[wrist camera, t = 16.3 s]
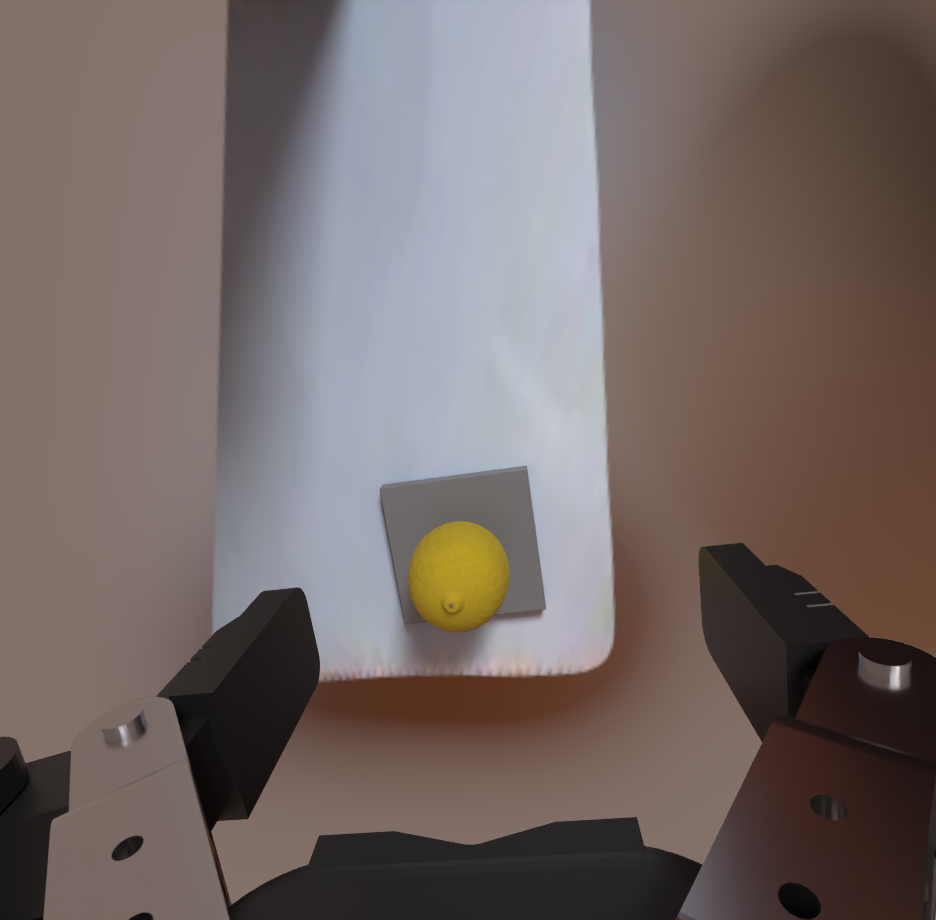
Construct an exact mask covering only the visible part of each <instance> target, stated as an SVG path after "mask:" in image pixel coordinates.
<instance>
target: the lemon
mask: <svg viewBox="0 0 936 920" xmlns="http://www.w3.org/2000/svg"><path fill="white" fill-rule="evenodd" d="M509 581H510V568H509V563H508V559H507V556H506V552H505V550H504V549H503V547H502V545H501V543H500V542H499V540H498V539H497V538H496V537H495V536H494V535H493V534H492V533H491V532H490V531H488V530H487V529H485V528H484V527H482V526H480V525H477V524H474V523H471V522H464V521H456V522H450V523H445V524H443V525H441V526H439V527H436V528H434V529H433V530H432V531H431V532H429V533H428V534H427V535H426V536H424V537H423V539H422V540H421V541H420V543H419V544H418V546H417V547H416V548H415V550H414V553H413V555H412V558H411V561H410V564H409V571H408V586H409V592H410V596H411V599H412V601H413V604H414V606H415V608H416V609H417V611H418V612H419V613H420V615H421V616H422V617H423V618H424V619H425V620H426V621H427V622H429V623H430V624H431V625H433V626H435V627H437V628H439V629H442V630H446V631H451V632H465V631H469V630H472V629H475V628H477V627H479V626H481V625H483V624H484V623H486V622H487V621H488V620H489V619H490V618H491V617H492V616H493V615H494V614H495V613H496V612H497V611H498V609H499V608H500V606H501V604H502V603H503V601H504V599H505V596H506V593H507V590H508V586H509Z"/></svg>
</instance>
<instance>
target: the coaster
mask: <svg viewBox="0 0 936 920" xmlns="http://www.w3.org/2000/svg"><path fill="white" fill-rule="evenodd" d="M380 494H381V499H382V504H383V509H384V515H385V520H386V525H387V531H388V536H389V541H390V546H391V552H392V557H393V562H394V567H395V573H396V578H397V583H398V588H399V594H400V599H401V604H402V609H403V615H404V620H405V624H411V623H420V622H427V621H426V620H425V619H424V618H423V617H422V616H421V615H420V613H419V612H418V611H417V609H416V608H415V606H414V604H413V601H412V599H411V596H410V592H409V586H408V571H409V564H410V561H411V558H412V555H413V553H414V550H415V548H416V547H417V546H418V544H419V543H420V541H421V540H422V539H423V537H424V536H426V535H427V534H428V533H429V532H431V531H432V530H433V529H434V528H436V527H439V526H441V525H443V524H445V523H450V522H456V521H464V522H471V523H474V524H477V525H480V526H482V527H484V528H485V529H487V530H488V531H490V532H491V533H492V534H493V535H494V536H495V537H496V538H497V539H498V540H499V542H500V543H501V545H502V547H503V549H504V550H505V552H506V556H507V559H508V563H509V568H510V581H509V586H508V590H507V593H506V596H505V599H504V601H503V603H502V604H501V606H500V608H499V609H498V611H497V612H496V613H495V614H494V615H496V614H505V613H515V612H524V611H534V610H543V609H546V603H545V596H544V588H543V581H542V574H541V566H540V559H539V552H538V545H537V537H536V530H535V523H534V515H533V508H532V501H531V493H530V486H529V479H528V471H527V466H522V467H515V468H507V469H499V470H492V471H484V472H477V473H469V474H462V475H454V476H446V477H439V478H431V479H424V480H416V481H409V482H401V483H393V484H386V485H383V486H382V487H381V488H380Z"/></svg>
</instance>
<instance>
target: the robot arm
mask: <svg viewBox="0 0 936 920" xmlns="http://www.w3.org/2000/svg"><path fill="white" fill-rule="evenodd" d="M699 576H700V594H701V612H702V626H703V632H704V637H705V641H706V644H707V647H708V650H709V652H710V654H711V656H712V658H713V659H714V661H715V663H716V665H717V666H718V668H719V670H720V672H721V673H722V675H723V677H724V678H725V680H726V682H727V683H728V685H729V687H730V688H731V690H732V692H733V693H734V695H735V697H736V699H737V700H738V702H739V704H740V706H741V707H742V709H743V710H744V712H745V714H746V716H747V717H748V719H749V721H750V722H751V724H752V726H753V728H754V729H755V731H756V733H757V734H758V736H759V738H760V739H761V741H762V744H761V746H760V748H759V750H758V752H757V754H756V756H755V758H754V760H753V762H752V764H751V767H750V769H749V771H748V773H747V775H746V777H745V779H744V781H743V783H742V785H741V787H740V789H739V791H738V793H737V795H736V797H735V799H734V801H733V803H732V805H731V808H730V810H729V812H728V814H727V816H726V818H725V820H724V822H723V824H722V826H721V828H720V830H719V832H718V834H717V836H716V838H715V840H714V842H713V844H712V846H711V849H710V851H709V853H708V855H707V857H706V859H705V861H704V863H703V865H702V864H700V863H698V862H695V861H693V860H690V859H688V858H685V857H683V856H680V855H678V854H674V853H671V852H667V851H664V850H661V849H657V848H652V847H647V846H644V844H643V840H642V836H641V832H640V828H639V824H638V820H637V817H633V818H615V819H599V820H581V821H564V822H554V823H550V824H547V825H544V826H540V827H536V828H533V829H529V830H526V831H522V832H519V833H515V834H512V835H508V836H505V837H502V838H498V839H495V840H491V841H488V842H484V843H481V844H476V845H465V844H459V843H453V842H448V841H443V840H438V839H432V838H427V837H422V836H416V835H411V834H406V833H400V832H395V831H391V832H374V833H358V834H357V833H356V834H339V835H322V836H319V837H318V840H317V843H316V845H315V848H314V851H313V854H312V856H311V859H310V862H309V865H306V866H303V867H299V868H297V869H294V870H292V871H290V872H287V873H284V874H282V875H280V876H278V877H276V878H274V879H272V880H270V881H268V882H266V883H264V884H262V885H261V886H259V887H257V888H256V889H254V890H253V891H251V892H249V893H248V894H246V895H245V896H243V897H242V898H240V899H239V900H238V901H236V902H235V903H234V904H231V901H230V897H229V893H228V890H227V887H226V883H225V879H224V875H223V872H222V868H221V864H220V861H219V857H218V854H217V850H216V846H215V843H214V840H213V836H212V833H211V831H212V829H213V827H214V825H215V824H216V822H217V821H224V820H240V819H248V818H249V816H250V814H251V812H252V810H253V808H254V806H255V804H256V803H257V801H258V799H259V797H260V794H261V793H262V791H263V789H264V787H265V785H266V783H267V781H268V779H269V777H270V775H271V774H272V771H273V769H274V768H275V766H276V763H277V762H278V760H279V758H280V756H281V754H282V752H283V750H284V748H285V747H286V745H287V742H288V741H289V739H290V737H291V735H292V733H293V731H294V729H295V727H296V725H297V723H298V721H299V720H300V718H301V716H302V714H303V712H304V710H305V708H306V706H307V704H308V702H309V700H310V698H311V696H312V694H313V692H314V690H315V689H316V686H317V684H318V680H319V674H320V659H319V653H318V648H317V644H316V639H315V635H314V631H313V626H312V622H311V617H310V613H309V608H308V604H307V600H306V596H305V594H304V592H303V591H302V589H300V588H288V589H279V590H269V591H263V592H261V593H260V594H259V595H258V596H257V598H256V599H255V600H254V601H253V602H252V603H251V604H250V605H249V607H248V608H247V609H246V610H245V611H244V612H243V613H242V614H241V616H240V617H237V618H236V619H234V620H233V621H231V622H230V623H228V624H227V625H225V626H224V627H222V628H220V629H219V630H217V631H216V632H215V633H214V634H213V635H212V637H211V638H210V639H209V640H208V641H207V642H206V643H205V644H204V645H203V646H202V647H203V649H200V650H199V651H198V652H197V653H196V654H195V655H194V656H193V657H192V658H191V662H188V663H187V664H186V665H185V666H184V667H183V668H182V669H181V670H180V671H179V672H178V673H177V675H176V676H175V677H174V678H173V679H172V680H171V681H170V682H169V683H168V684H167V685H166V686H165V687H164V689H163V690H162V691H161V692H160V693H159V694H158V695H157V696H156V697H149V698H143V699H138V700H135V701H131V702H128V703H126V704H123V705H120V706H118V707H116V708H114V709H112V710H110V711H108V712H106V713H104V714H103V715H101V716H99V717H98V718H96V719H95V720H93V721H92V722H91V723H89V724H88V725H87V726H86V727H85V728H83V730H82V731H81V732H80V733H79V734H78V735H77V736H76V738H75V739H74V741H73V743H72V747H71V751H68V752H64V753H61V754H57V755H54V756H50V757H47V758H43V759H39V760H36V761H33V762H29V763H25V761H24V759H23V756H22V754H21V751H20V748H19V745H18V743H17V741H16V740H15V739H14V738H11V737H0V920H935V915H936V657H934V656H932V655H931V654H929V653H927V652H925V651H923V650H921V649H919V648H916V647H914V646H911V645H908V644H905V643H902V642H898V641H894V640H889V639H884V638H874V637H869V636H868V635H867V634H866V633H865V632H863V631H862V630H861V629H860V628H859V627H858V626H857V625H856V624H854V623H853V622H852V621H851V620H850V619H849V618H848V617H847V616H846V615H844V614H843V613H842V612H841V611H840V610H839V609H838V608H837V607H836V606H834V605H831V602H830V601H829V600H828V599H827V598H826V597H824V596H823V595H822V594H821V593H818V592H817V589H816V588H815V587H813V586H812V585H811V584H810V583H809V582H808V581H807V580H806V579H804V578H803V577H802V576H801V575H798V574H796V573H794V572H792V571H789V570H787V569H785V568H783V567H780V566H778V565H769V566H766V565H764V563H763V562H762V561H761V560H759V559H758V558H757V557H756V556H755V555H754V554H753V553H752V552H751V551H750V550H749V549H748V548H747V547H746V546H745V545H744V544H743V543H736V544H725V545H716V546H706V547H701V548H700V551H699Z"/></svg>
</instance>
